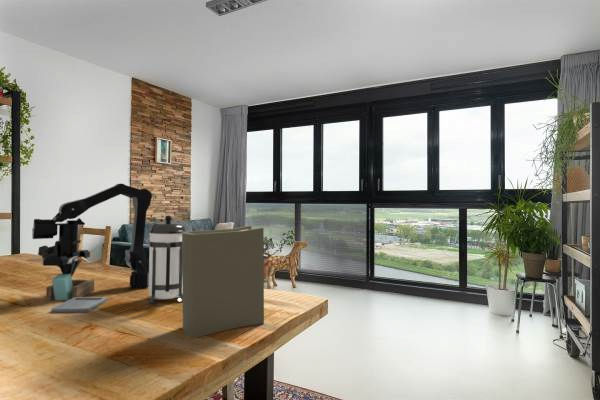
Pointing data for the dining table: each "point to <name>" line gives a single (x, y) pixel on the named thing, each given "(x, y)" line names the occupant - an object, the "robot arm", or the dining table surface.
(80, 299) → the tray
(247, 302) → the book
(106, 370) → the dining table surface
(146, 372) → the dining table surface
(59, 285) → the block
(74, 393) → the dining table surface
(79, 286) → the bay
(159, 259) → the coffee press
